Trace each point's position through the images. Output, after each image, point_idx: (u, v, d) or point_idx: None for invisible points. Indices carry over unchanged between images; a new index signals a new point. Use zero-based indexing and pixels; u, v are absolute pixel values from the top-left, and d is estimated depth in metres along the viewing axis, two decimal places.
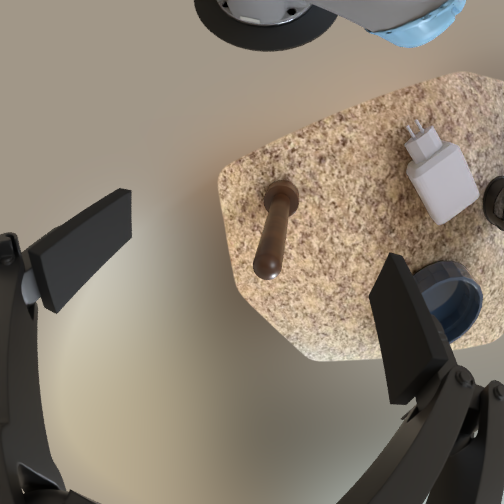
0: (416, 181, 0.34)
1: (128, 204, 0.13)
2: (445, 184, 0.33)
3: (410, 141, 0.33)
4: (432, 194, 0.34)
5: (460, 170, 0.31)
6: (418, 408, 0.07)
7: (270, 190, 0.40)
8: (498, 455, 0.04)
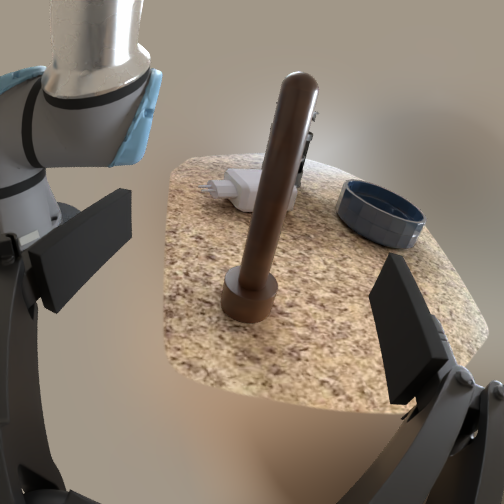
0: (253, 189, 0.42)
1: (128, 204, 0.13)
2: (259, 177, 0.46)
3: (216, 193, 0.43)
4: None
5: (248, 170, 0.48)
6: (418, 408, 0.07)
7: (229, 285, 0.25)
8: (498, 455, 0.04)
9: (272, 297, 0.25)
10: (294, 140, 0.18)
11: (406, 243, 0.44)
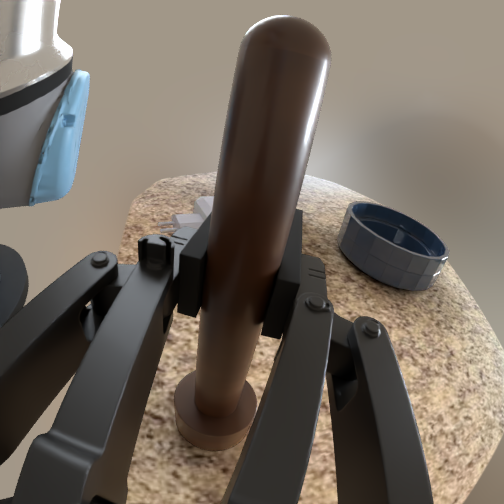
0: None
1: None
2: None
3: None
4: None
5: None
6: None
7: (180, 410, 0.14)
8: (394, 402, 0.06)
9: (247, 425, 0.14)
10: (274, 184, 0.07)
11: (426, 284, 0.34)
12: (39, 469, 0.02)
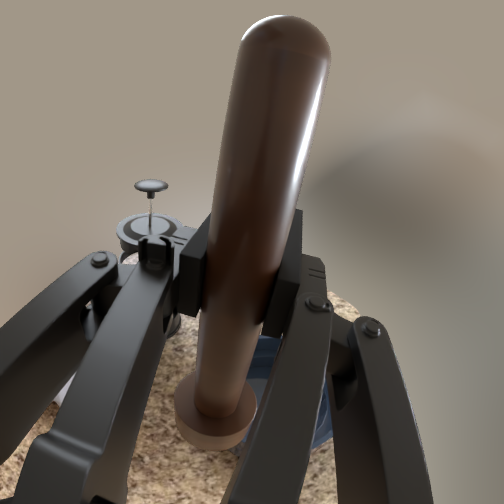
0: None
1: None
2: None
3: None
4: None
5: None
6: None
7: (180, 410, 0.14)
8: (394, 402, 0.06)
9: (247, 426, 0.14)
10: (274, 185, 0.07)
11: None
12: (39, 469, 0.02)
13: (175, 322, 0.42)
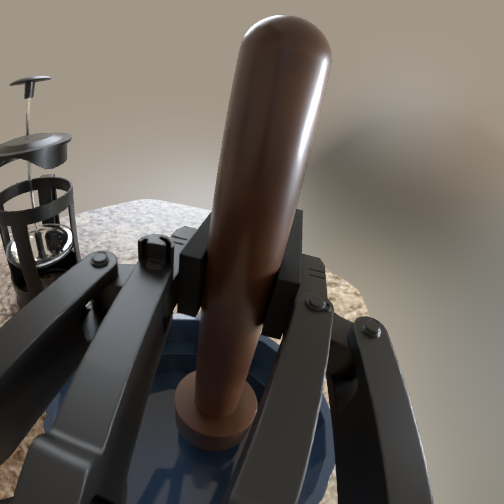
0: None
1: None
2: None
3: None
4: None
5: None
6: None
7: (180, 410, 0.14)
8: (395, 402, 0.06)
9: (248, 426, 0.14)
10: (275, 185, 0.07)
11: None
12: (39, 469, 0.02)
13: None
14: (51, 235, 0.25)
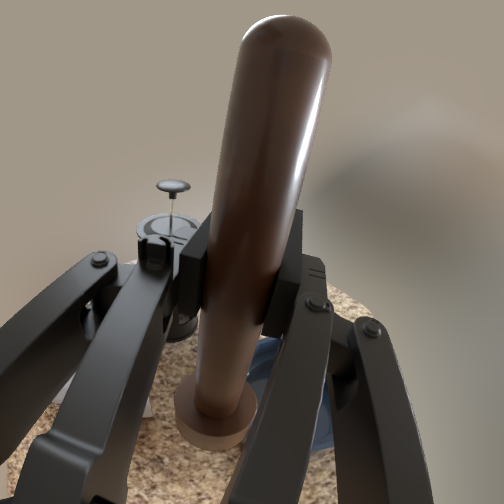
0: None
1: None
2: None
3: None
4: None
5: None
6: None
7: (180, 410, 0.14)
8: (395, 402, 0.06)
9: (247, 426, 0.14)
10: (274, 184, 0.07)
11: (317, 458, 0.26)
12: (39, 469, 0.02)
13: (193, 323, 0.42)
14: None
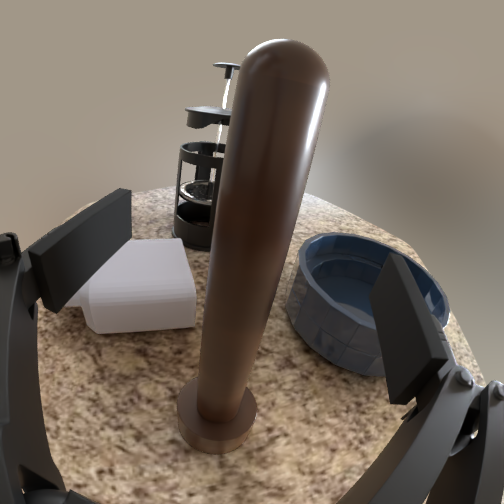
0: (95, 301, 0.19)
1: (128, 204, 0.13)
2: (128, 265, 0.23)
3: None
4: (130, 285, 0.21)
5: (125, 245, 0.25)
6: (418, 407, 0.07)
7: (183, 415, 0.15)
8: (498, 455, 0.04)
9: (248, 430, 0.15)
10: (273, 210, 0.08)
11: None
12: None
13: None
14: None
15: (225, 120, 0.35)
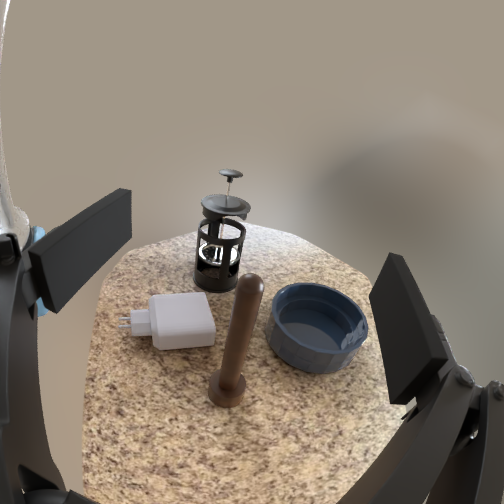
0: (162, 334, 0.39)
1: (128, 204, 0.13)
2: (177, 312, 0.43)
3: (131, 330, 0.40)
4: (180, 325, 0.41)
5: (172, 298, 0.45)
6: (418, 407, 0.07)
7: (212, 387, 0.35)
8: (498, 455, 0.04)
9: (242, 394, 0.35)
10: (247, 323, 0.28)
11: (336, 368, 0.42)
12: None
13: (236, 277, 0.58)
14: (221, 248, 0.58)
15: None
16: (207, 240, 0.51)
